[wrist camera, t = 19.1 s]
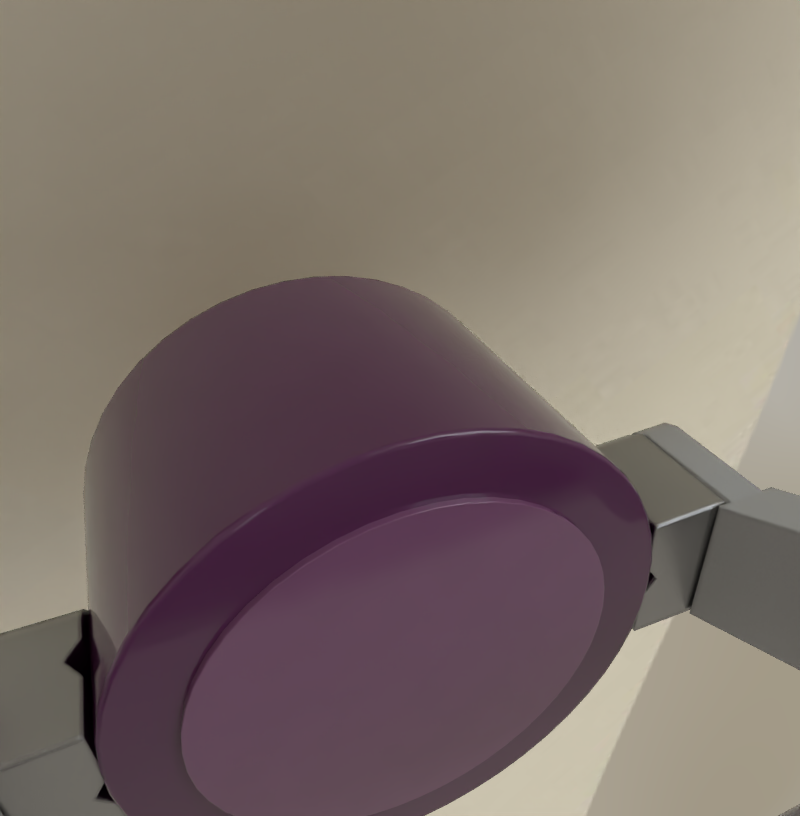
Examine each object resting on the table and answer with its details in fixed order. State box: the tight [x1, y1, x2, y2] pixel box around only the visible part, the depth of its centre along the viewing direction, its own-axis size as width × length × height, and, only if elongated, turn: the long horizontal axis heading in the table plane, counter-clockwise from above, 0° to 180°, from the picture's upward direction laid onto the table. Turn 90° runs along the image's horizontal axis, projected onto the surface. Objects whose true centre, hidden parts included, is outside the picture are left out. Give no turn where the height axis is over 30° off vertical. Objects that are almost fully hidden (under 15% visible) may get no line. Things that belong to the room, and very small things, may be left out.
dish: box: [83, 276, 652, 816], centre depth 9 cm, size 6×6×4 cm
